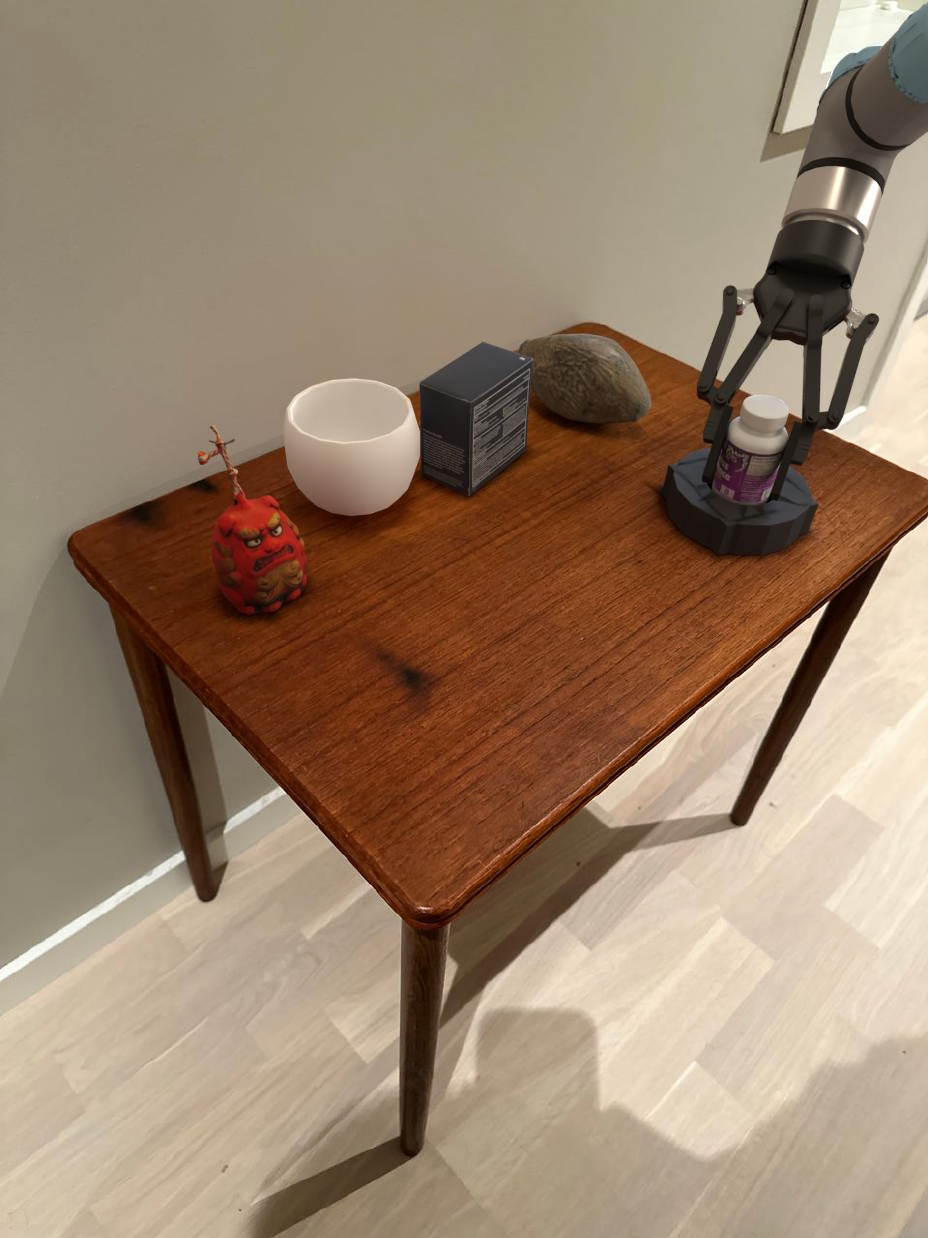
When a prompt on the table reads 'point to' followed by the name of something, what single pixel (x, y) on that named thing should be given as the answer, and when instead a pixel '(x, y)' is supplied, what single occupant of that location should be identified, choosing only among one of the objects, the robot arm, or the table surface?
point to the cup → (351, 445)
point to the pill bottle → (752, 451)
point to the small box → (474, 417)
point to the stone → (587, 378)
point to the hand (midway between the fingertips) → (740, 487)
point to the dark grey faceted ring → (735, 511)
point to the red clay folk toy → (255, 548)
